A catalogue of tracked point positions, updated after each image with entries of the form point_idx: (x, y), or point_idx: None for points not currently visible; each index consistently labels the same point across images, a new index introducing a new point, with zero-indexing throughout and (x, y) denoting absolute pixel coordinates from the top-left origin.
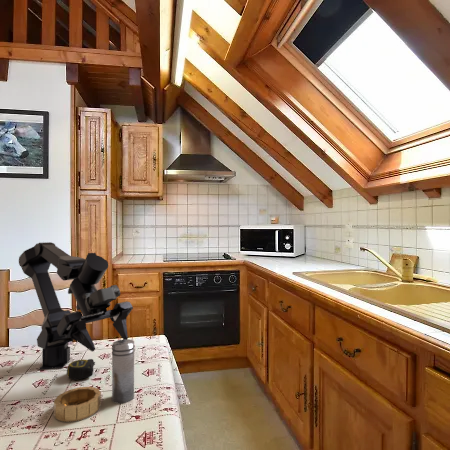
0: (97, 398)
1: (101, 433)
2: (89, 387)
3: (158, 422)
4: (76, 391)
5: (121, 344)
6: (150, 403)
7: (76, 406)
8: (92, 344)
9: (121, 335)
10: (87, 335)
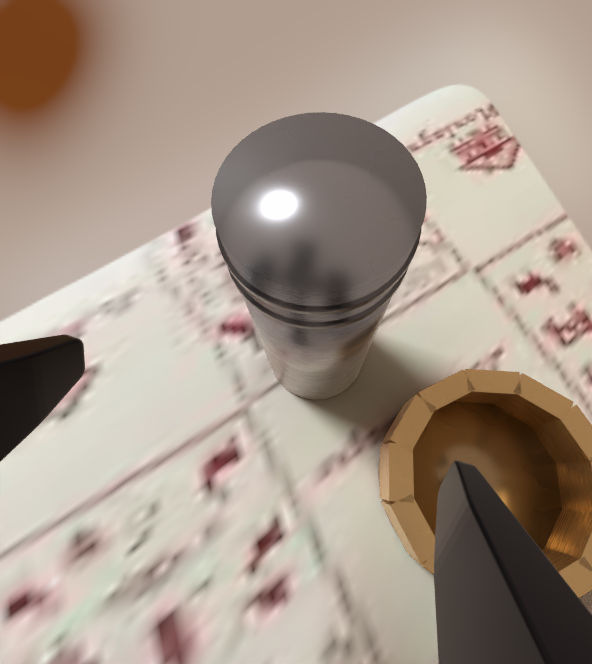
0: (468, 369)
1: (540, 277)
2: (397, 498)
3: None
4: None
5: (361, 184)
6: None
7: (570, 412)
8: (485, 499)
9: (16, 430)
10: (576, 642)
